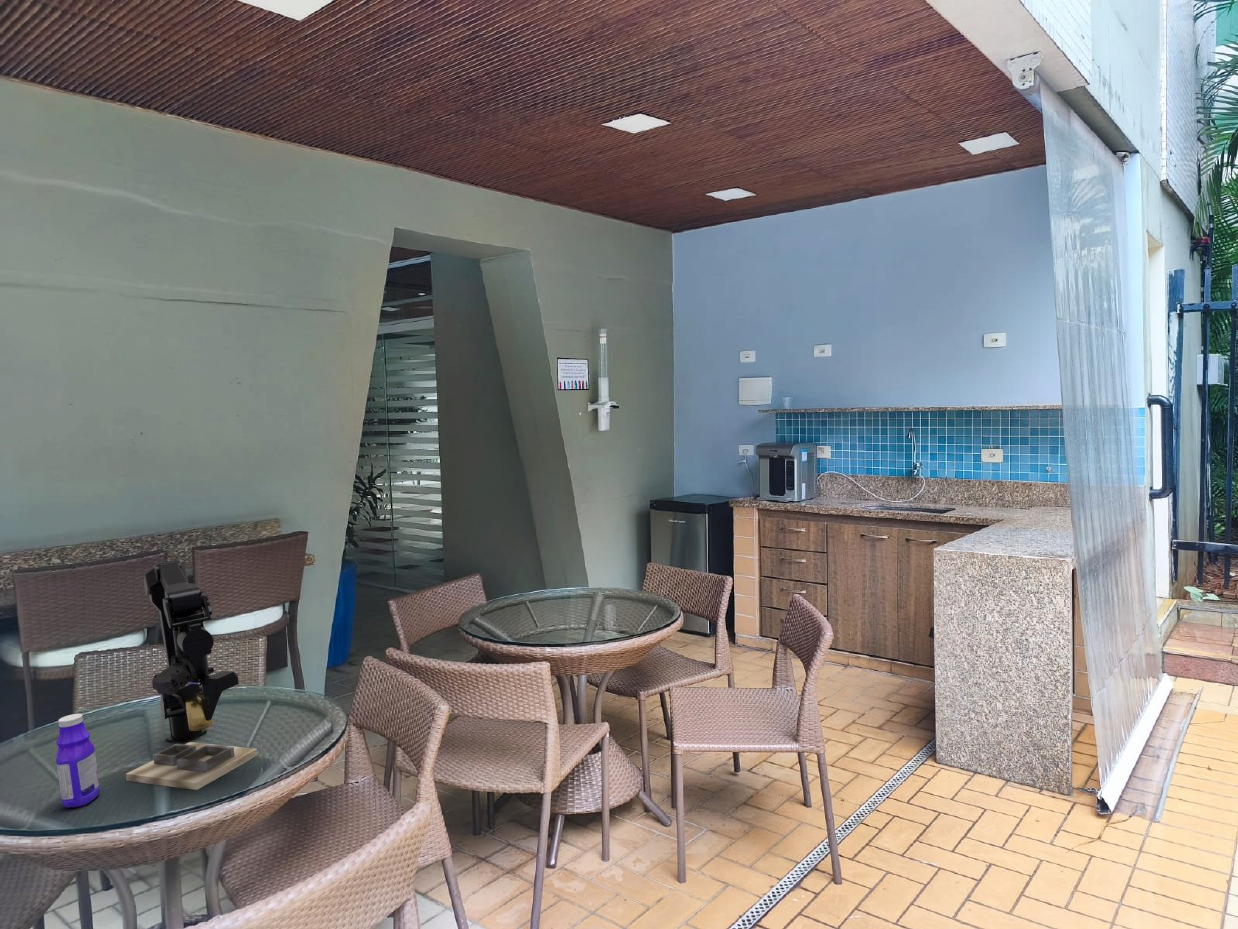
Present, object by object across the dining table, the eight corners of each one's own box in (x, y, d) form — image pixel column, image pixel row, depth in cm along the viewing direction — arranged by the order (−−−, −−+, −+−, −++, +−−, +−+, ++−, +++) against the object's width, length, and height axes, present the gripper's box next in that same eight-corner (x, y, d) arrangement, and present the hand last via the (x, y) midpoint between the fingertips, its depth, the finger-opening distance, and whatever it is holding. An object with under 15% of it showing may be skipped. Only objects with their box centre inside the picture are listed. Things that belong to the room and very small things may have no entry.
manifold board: (126, 780, 175) (124, 764, 175) (190, 748, 190) (188, 733, 190) (196, 790, 168) (194, 773, 168) (257, 755, 183) (255, 740, 182)
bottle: (77, 794, 171) (65, 712, 169) (106, 791, 171) (94, 709, 170) (56, 811, 164) (43, 726, 162) (87, 808, 164) (74, 722, 163)
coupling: (184, 730, 176) (180, 702, 175) (202, 721, 180) (198, 694, 179) (200, 731, 174) (196, 703, 173) (218, 722, 178) (214, 695, 178)
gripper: (124, 658, 171) (134, 731, 173) (191, 662, 164) (201, 738, 166) (171, 641, 182) (180, 711, 183) (235, 644, 175) (245, 716, 176)
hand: (200, 719), depth 177 cm, fingers closed on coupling, 5 cm apart
